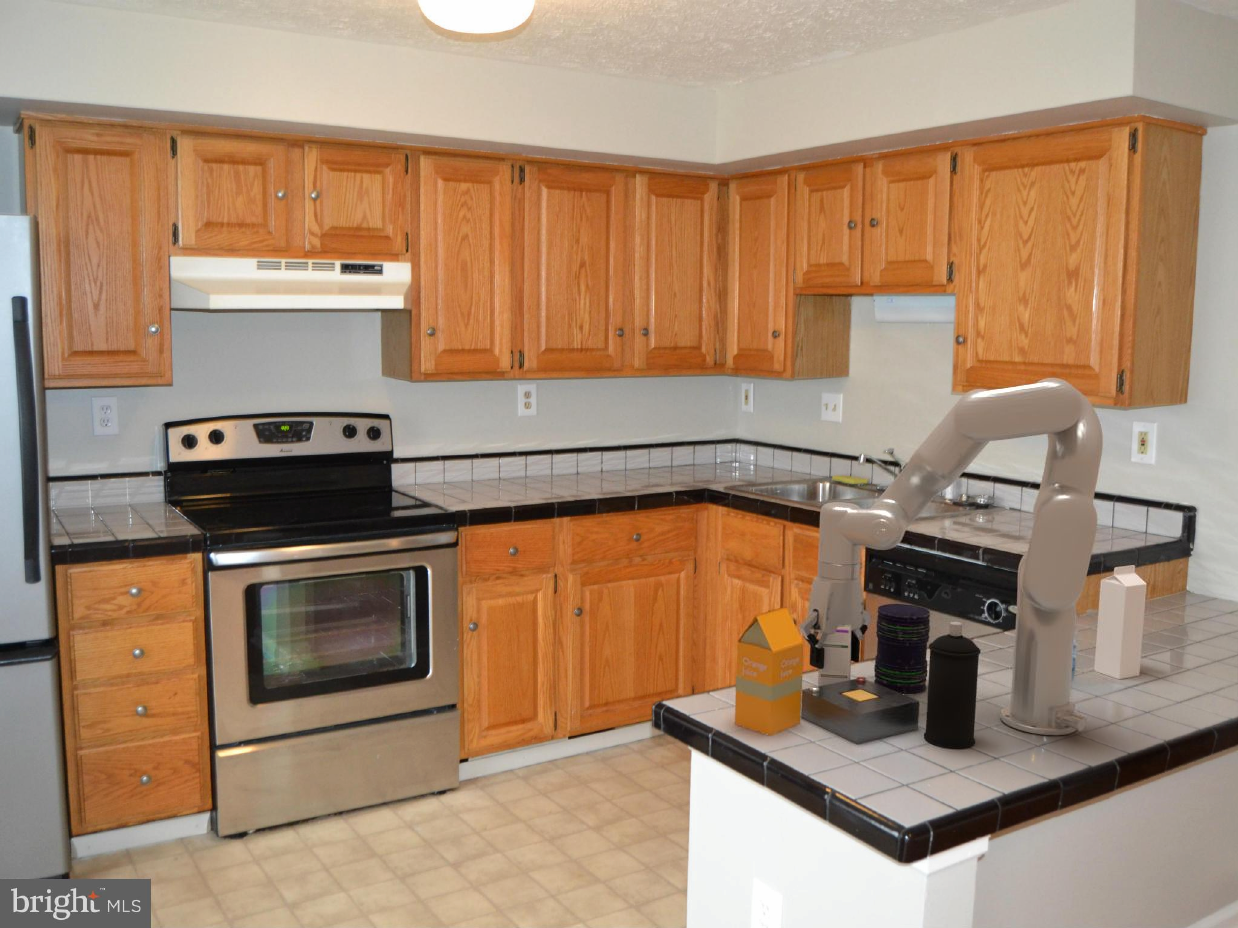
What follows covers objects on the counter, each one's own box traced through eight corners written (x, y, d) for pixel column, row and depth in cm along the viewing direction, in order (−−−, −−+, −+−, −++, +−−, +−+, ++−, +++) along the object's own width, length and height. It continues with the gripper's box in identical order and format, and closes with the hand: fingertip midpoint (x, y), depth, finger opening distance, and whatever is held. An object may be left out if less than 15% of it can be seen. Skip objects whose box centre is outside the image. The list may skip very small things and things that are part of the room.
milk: (1093, 671, 219) (1100, 564, 216) (1114, 667, 222) (1121, 561, 219) (1119, 680, 214) (1127, 570, 211) (1140, 675, 216) (1148, 567, 214)
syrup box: (849, 704, 197) (853, 626, 195) (816, 701, 198) (819, 624, 196) (849, 694, 202) (852, 618, 201) (817, 691, 203) (820, 616, 202)
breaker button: (877, 713, 186) (878, 696, 186) (858, 717, 184) (859, 700, 184) (859, 705, 190) (860, 689, 190) (841, 709, 188) (841, 693, 187)
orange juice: (801, 723, 187) (805, 610, 184) (770, 736, 181) (774, 619, 178) (764, 711, 192) (768, 601, 190) (733, 723, 186) (737, 610, 184)
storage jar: (863, 680, 211) (867, 605, 209) (907, 676, 214) (911, 602, 212) (891, 697, 201) (895, 618, 199) (937, 692, 204) (941, 615, 202)
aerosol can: (968, 753, 175) (975, 632, 172) (917, 742, 179) (923, 624, 177) (980, 737, 182) (987, 621, 179) (931, 727, 186) (937, 614, 184)
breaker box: (918, 729, 185) (919, 697, 184) (857, 744, 178) (858, 711, 177) (860, 704, 197) (861, 674, 196) (801, 717, 190) (802, 686, 189)
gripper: (859, 562, 205) (855, 652, 207) (788, 571, 196) (784, 665, 198) (888, 570, 198) (883, 662, 201) (815, 579, 189) (811, 676, 192)
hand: (834, 663), depth 199 cm, fingers closed on syrup box, 8 cm apart
